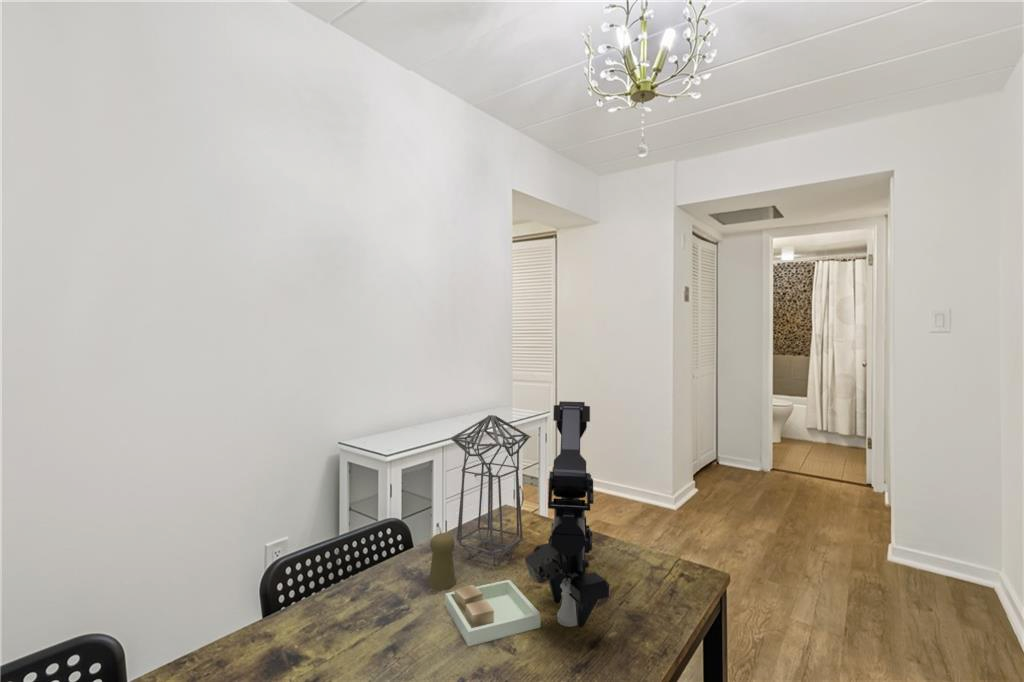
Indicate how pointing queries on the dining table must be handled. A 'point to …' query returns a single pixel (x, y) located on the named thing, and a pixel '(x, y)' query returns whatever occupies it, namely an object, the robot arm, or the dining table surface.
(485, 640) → the tray
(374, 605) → the dining table surface
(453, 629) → the dining table surface
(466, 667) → the dining table surface
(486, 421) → the geometric lantern
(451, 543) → the cork
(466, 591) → the beech block
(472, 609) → the beech block
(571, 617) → the rook chess piece
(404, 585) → the dining table surface
